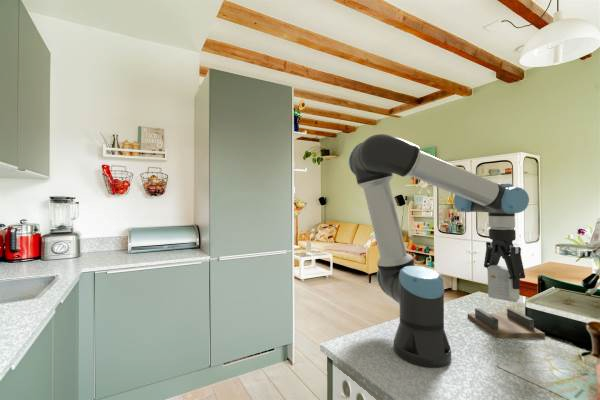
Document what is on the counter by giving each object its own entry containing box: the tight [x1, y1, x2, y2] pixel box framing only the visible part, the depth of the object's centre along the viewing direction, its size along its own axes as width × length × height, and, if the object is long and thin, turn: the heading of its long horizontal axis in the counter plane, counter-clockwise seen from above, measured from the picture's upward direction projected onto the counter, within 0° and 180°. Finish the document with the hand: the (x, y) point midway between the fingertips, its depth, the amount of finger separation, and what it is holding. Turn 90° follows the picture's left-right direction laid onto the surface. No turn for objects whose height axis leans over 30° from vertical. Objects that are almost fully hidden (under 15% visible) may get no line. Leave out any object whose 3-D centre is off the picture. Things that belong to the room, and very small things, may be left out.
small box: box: [486, 265, 521, 303], centre depth 98 cm, size 8×6×10 cm
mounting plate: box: [467, 307, 546, 339], centre depth 98 cm, size 15×16×4 cm
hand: (503, 293), depth 98 cm, fingers closed on small box, 9 cm apart
